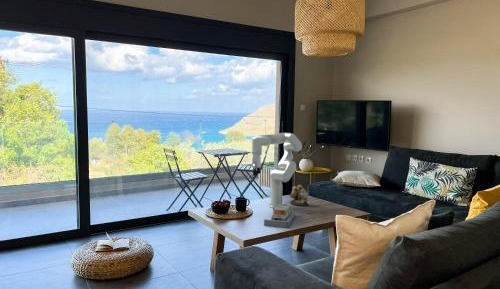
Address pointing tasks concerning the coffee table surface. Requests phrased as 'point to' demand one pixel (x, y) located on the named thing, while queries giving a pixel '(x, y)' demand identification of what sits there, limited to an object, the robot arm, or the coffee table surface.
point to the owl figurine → (299, 196)
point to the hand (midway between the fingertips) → (256, 174)
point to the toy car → (281, 212)
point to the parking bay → (280, 223)
